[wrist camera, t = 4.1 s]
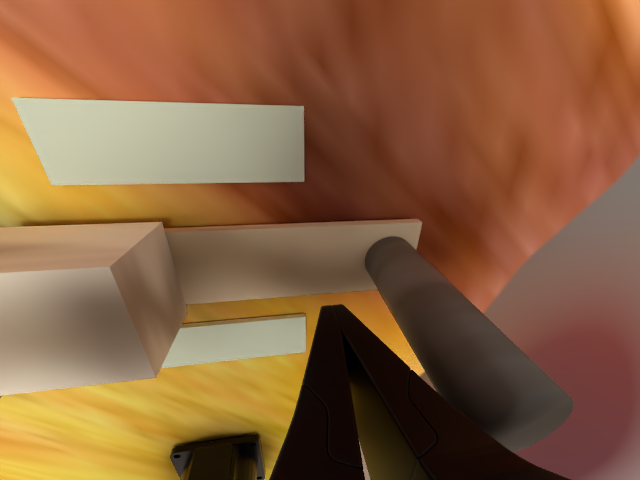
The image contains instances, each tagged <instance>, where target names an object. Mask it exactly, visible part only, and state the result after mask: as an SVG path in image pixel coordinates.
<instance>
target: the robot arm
mask: <svg viewBox="0 0 640 480" xmlns="http://www.w3.org/2000/svg"><path fill="white" fill-rule="evenodd" d="M359 442H360V445H361V448H362V452H363V455H364V458H365V462H366V465H367V469H368V472H369V476H370V479H371V480H570V479H568V478H565V477H563V476H560V475H558V474H555V473H553V472H550V471H547V470H545V469H542V468H540V467H537V466H536V465H534V464H532V463H529V462H528V461H526V460H524V459H522V458H521V457H519V456H518V455H516V454H515V453H513V452H512V451H510V450H509V449H507V448H506V447H505V446H503V445H502V444H501V443H499V442H498V441H497V440H496V439H494V438H493V437H492V436H490V435H489V434H488V433H487V432H485V431H484V430H483V429H482V428H480V427H479V426H478V425H477V424H475V423H474V422H473V421H472V420H470V419H469V418H468V417H467V416H465V415H464V414H463V413H462V412H460V411H459V410H458V409H456V408H455V407H454V406H453V405H452V404H450V403H449V402H448V401H447V400H446V399H444V398H443V397H442V396H441V395H439V394H438V393H437V392H436V391H435V390H434V389H433V388H431V387H430V386H429V385H428V384H427V383H426V382H425V381H423V379H421V378H420V377H419V376H418V375H417V374H416V373H415V372H414V371H413V370H410V367H409V366H408V365H406V364H405V363H404V362H403V361H402V360H401V359H400V358H399V357H398V356H397V355H396V354H395V353H394V352H393V351H392V350H391V349H389V348H388V347H387V346H386V345H385V344H384V343H383V342H382V341H381V340H380V339H379V338H378V337H377V336H376V335H375V334H374V333H373V332H371V331H370V330H369V329H368V328H367V327H366V326H365V325H364V324H363V323H362V322H361V321H360V320H359V319H358V318H357V317H356V316H354V315H353V314H352V313H351V312H350V311H349V310H348V309H347V308H346V307H345V306H344V305H342V304H339V305H333V306H331V305H329V306H322V307H321V310H320V314H319V318H318V322H317V326H316V330H315V334H314V338H313V342H312V346H311V350H310V354H309V359H308V363H307V367H306V371H305V375H304V379H303V383H302V386H301V390H300V394H299V398H298V402H297V405H296V409H295V412H294V415H293V418H292V421H291V424H290V427H289V430H288V432H287V435H286V438H285V440H284V443H283V446H282V448H281V451H280V453H279V456H278V458H277V461H276V464H275V466H274V469H273V471H272V474H271V477H270V479H269V480H365V477H364V472H363V464H362V458H361V451H360V445H359ZM170 459H171V461H172V463H173V465H174V467H175V469H176V471H177V473H178V475H179V477H180V480H263V479H264V478H265V466H264V460H263V454H262V448H261V442H260V437H259V436H258V435H250V436H243V437H237V438H230V439H224V440H217V441H211V442H204V443H198V444H191V445H185V446H178V447H175V448H173V449H172V451H171V455H170Z"/></svg>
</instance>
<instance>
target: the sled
mask: <svg viewBox="0 0 640 480" xmlns="http://www.w3.org/2000/svg"><path fill="white" fill-rule="evenodd" d="M421 227H422V222H421V221H420V220H419V219H397V220H370V221H344V222H317V223H291V224H264V225H237V226H211V227H184V228H164V227H163V224H162V222H142V223H113V224H84V225H54V226H25V227H0V396H3V395H12V394H20V393H29V392H38V391H46V390H55V389H64V388H72V387H81V386H89V385H98V384H107V383H115V382H124V381H133V380H141V379H150V378H156V377H157V375H158V373H159V371H160V369H161V367H162V365H163V362H164V360H165V358H166V356H167V354H168V352H169V350H170V348H171V346H172V344H173V342H174V340H175V338H176V336H177V333H178V331H179V329H180V327H181V325H182V323H183V321H184V319H185V317H186V315H187V313H188V312H187V308H186V305H189V304H201V303H214V302H227V301H239V300H252V299H265V298H278V297H290V296H303V295H316V294H328V293H341V292H354V291H367V290H378V291H379V292H380V294H381V296H382V298H383V299H384V301H385V303H386V305H387V306H388V308H389V310H390V311H391V313H392V315H393V317H394V318H395V320H396V322H397V324H398V325H399V327H400V329H401V330H402V332H403V334H404V336H405V337H406V339H407V341H408V343H409V344H410V346H411V348H412V350H413V351H414V353H415V355H416V356H417V358H418V360H419V362H420V363H421V365H422V367H423V369H424V370H425V372H426V374H427V375H428V377H429V379H430V381H431V382H432V384H433V386H434V388H435V389H436V391H437V393H438V394H439V395H441V396H442V397H443V398H444V399H446V400H447V401H448V402H449V403H450V404H452V405H453V406H454V407H455V408H456V409H458V410H459V411H460V412H462V413H463V414H464V415H465V416H467V417H468V418H469V419H470V420H472V421H473V422H474V423H475V424H477V425H478V426H479V427H480V428H482V429H483V430H484V431H485V432H487V433H488V434H489V435H490V436H492V437H493V438H494V439H496V440H497V441H498V442H499V443H501V444H502V445H503V446H505V447H506V448H507V449H509V450H510V451H512V452H515V451H518V450H521V449H523V448H526V447H528V446H530V445H532V444H534V443H536V442H538V441H540V440H542V439H543V438H545V437H547V436H548V435H549V434H551V433H552V432H554V431H555V430H556V429H557V428H558V427H560V426H561V425H562V424H563V423H564V422H565V420H566V419H567V418H568V417H569V415H570V413H571V412H572V408H573V400H572V398H571V397H570V396H569V395H568V394H567V393H566V392H565V391H563V390H562V389H561V388H560V387H559V386H558V385H557V384H556V383H555V382H554V381H553V380H552V379H551V378H550V377H549V376H548V375H547V374H545V372H544V371H542V370H541V369H540V368H539V367H538V366H537V365H536V364H535V363H534V362H533V361H532V360H531V359H530V358H529V357H528V356H527V355H525V353H524V352H523V351H522V350H520V349H519V348H518V347H517V346H516V345H515V344H514V343H513V342H512V341H511V340H510V339H509V338H508V337H507V336H506V335H505V334H503V332H501V331H500V330H499V329H498V328H497V327H496V326H495V325H494V324H493V323H492V322H491V321H490V320H489V319H488V318H487V317H486V316H485V315H484V314H483V313H482V312H481V311H480V310H478V309H477V308H476V307H475V306H474V305H473V304H472V303H471V302H470V301H469V300H468V299H467V298H466V297H465V296H464V295H463V294H462V293H461V292H460V291H459V290H458V289H456V288H455V287H454V286H453V285H452V284H451V283H450V282H449V281H448V280H447V279H446V278H445V277H444V276H443V275H442V274H441V273H440V272H439V271H438V270H437V269H435V268H434V267H433V266H432V265H431V264H430V263H429V262H428V261H427V260H426V259H425V258H424V257H423V256H422V255H421V254H420V253H419V252H418V251H417V245H418V240H419V236H420V231H421Z"/></svg>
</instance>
